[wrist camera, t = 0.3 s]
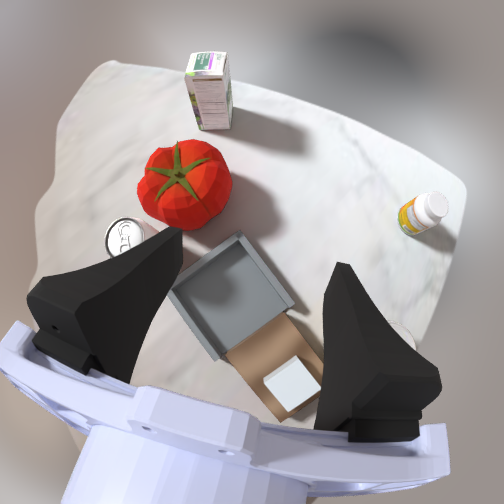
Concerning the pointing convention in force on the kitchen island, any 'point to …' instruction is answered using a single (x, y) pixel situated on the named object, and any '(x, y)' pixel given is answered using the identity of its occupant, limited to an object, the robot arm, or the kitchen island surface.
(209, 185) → the tomato
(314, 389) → the white block
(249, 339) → the brown shallow box
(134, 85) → the kitchen island surface
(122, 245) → the can
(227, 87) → the syrup box
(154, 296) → the robot arm
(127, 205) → the kitchen island surface
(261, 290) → the tray
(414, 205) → the supplement bottle
